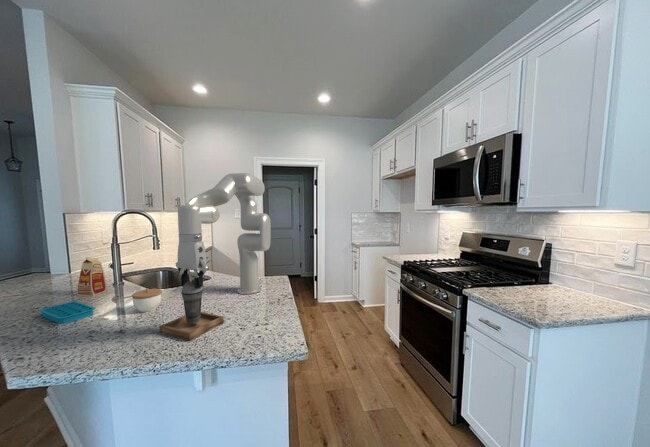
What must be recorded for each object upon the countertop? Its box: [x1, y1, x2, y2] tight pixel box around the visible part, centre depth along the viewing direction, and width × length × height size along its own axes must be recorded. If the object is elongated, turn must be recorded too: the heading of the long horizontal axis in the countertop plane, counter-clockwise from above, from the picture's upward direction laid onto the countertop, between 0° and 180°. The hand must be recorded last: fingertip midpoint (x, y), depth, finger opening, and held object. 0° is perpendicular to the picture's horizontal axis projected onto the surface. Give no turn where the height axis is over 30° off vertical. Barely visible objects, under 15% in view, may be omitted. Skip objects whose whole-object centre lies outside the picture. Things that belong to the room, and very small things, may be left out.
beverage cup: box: [180, 270, 204, 324], centre depth 94 cm, size 7×7×20 cm
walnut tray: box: [159, 311, 225, 342], centre depth 95 cm, size 15×15×2 cm
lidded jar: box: [131, 287, 163, 313], centre depth 112 cm, size 11×11×9 cm
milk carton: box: [76, 256, 108, 297], centre depth 134 cm, size 9×9×20 cm
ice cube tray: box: [38, 301, 96, 325], centre depth 107 cm, size 12×20×3 cm, turn 64°
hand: (192, 285), depth 94 cm, fingers closed on beverage cup, 6 cm apart
